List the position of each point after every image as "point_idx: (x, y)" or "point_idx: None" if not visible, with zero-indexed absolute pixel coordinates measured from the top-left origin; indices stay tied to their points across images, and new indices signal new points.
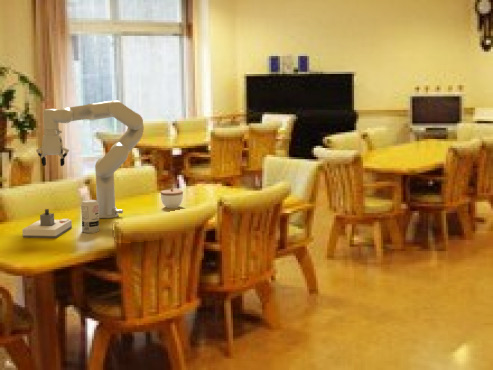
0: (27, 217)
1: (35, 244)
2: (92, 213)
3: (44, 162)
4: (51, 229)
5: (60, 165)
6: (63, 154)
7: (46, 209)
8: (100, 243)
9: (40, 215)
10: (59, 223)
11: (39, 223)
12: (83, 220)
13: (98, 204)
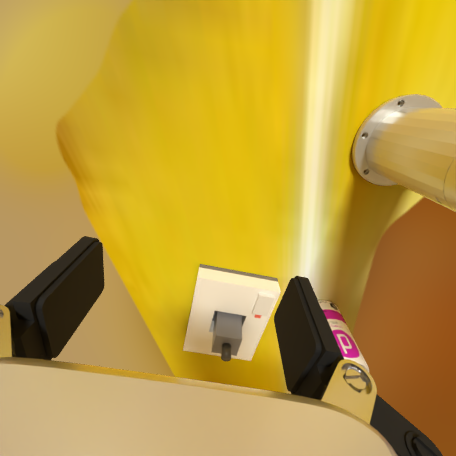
0: (113, 117)
1: (220, 371)
2: None
3: (85, 298)
4: (242, 358)
5: (274, 319)
6: (368, 423)
7: (225, 358)
8: None
9: (212, 351)
10: (253, 319)
11: (206, 314)
12: None
13: (391, 176)
